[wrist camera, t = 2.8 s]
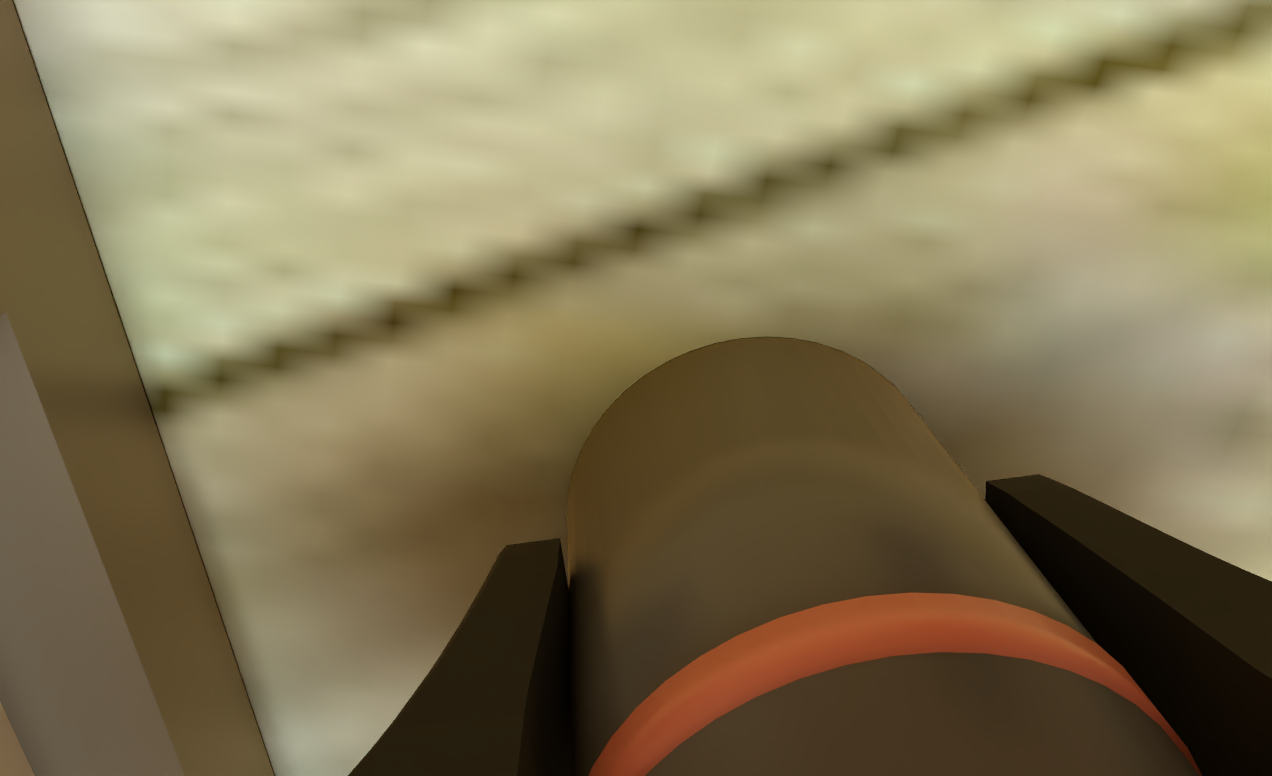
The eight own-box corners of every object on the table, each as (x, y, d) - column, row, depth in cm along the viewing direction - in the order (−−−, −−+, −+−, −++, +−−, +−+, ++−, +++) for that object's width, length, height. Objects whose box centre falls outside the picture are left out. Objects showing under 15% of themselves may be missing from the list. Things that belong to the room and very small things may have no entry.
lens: (937, 638, 14) (1258, 1217, 8) (588, 686, 14) (618, 1313, 8) (942, 308, 12) (1382, 715, 6) (536, 361, 12) (514, 837, 6)
